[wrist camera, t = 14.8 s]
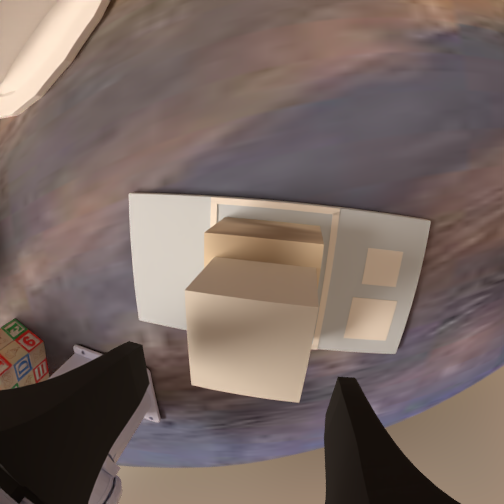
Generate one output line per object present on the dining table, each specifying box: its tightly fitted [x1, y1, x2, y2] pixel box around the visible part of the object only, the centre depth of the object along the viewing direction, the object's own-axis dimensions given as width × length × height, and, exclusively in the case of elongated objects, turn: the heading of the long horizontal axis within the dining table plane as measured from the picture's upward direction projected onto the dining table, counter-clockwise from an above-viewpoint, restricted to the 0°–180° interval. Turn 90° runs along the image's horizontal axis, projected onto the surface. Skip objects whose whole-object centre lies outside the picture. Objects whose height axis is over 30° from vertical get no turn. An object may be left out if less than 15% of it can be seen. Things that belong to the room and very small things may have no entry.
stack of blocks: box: [0, 319, 49, 390], centre depth 25 cm, size 21×6×12 cm, turn 161°
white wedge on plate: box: [0, 0, 111, 119], centre depth 10 cm, size 25×25×11 cm
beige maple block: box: [185, 257, 319, 403], centre depth 13 cm, size 5×5×4 cm
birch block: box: [204, 217, 324, 288], centre depth 17 cm, size 6×8×4 cm
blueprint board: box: [129, 192, 431, 354], centre depth 19 cm, size 20×10×1 cm, turn 87°
